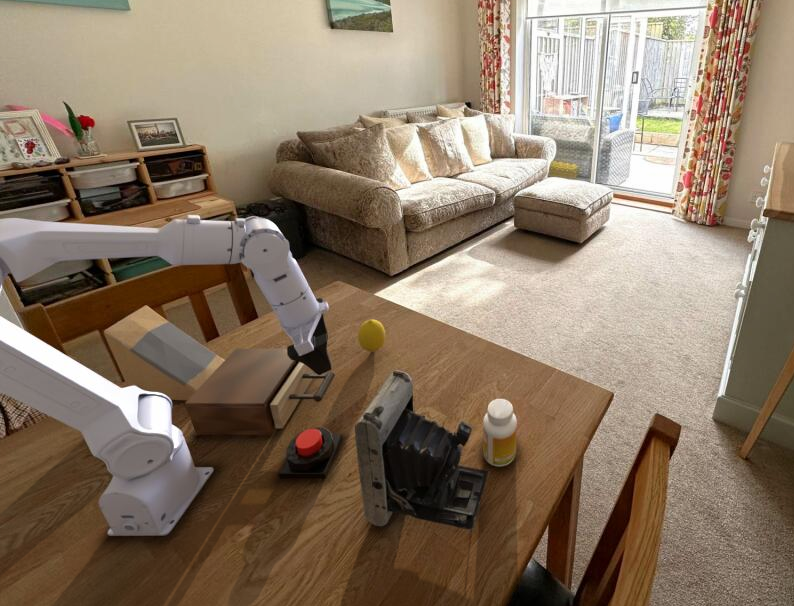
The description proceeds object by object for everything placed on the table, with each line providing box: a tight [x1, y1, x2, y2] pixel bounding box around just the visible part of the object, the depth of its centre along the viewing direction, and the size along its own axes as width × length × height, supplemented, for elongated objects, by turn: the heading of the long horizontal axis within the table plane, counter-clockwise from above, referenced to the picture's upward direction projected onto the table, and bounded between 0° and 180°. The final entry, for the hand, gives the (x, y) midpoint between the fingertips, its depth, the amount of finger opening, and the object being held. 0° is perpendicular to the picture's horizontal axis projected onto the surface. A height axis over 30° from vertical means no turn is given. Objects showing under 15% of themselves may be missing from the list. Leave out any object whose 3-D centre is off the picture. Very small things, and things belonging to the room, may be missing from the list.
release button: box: [296, 428, 323, 456], centre depth 63 cm, size 4×4×2 cm
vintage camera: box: [354, 369, 489, 531], centre depth 55 cm, size 10×16×20 cm, turn 79°
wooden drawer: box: [267, 362, 336, 429], centre depth 73 cm, size 17×12×5 cm
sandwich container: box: [103, 305, 226, 401], centre depth 76 cm, size 9×15×15 cm, turn 88°
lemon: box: [357, 319, 386, 352], centre depth 87 cm, size 6×6×8 cm
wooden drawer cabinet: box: [184, 347, 299, 436], centre depth 73 cm, size 13×14×7 cm
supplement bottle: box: [482, 398, 518, 468], centre depth 65 cm, size 5×5×10 cm
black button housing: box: [277, 426, 344, 480], centre depth 64 cm, size 7×7×3 cm
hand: (323, 355), depth 67 cm, fingers open, 7 cm apart
